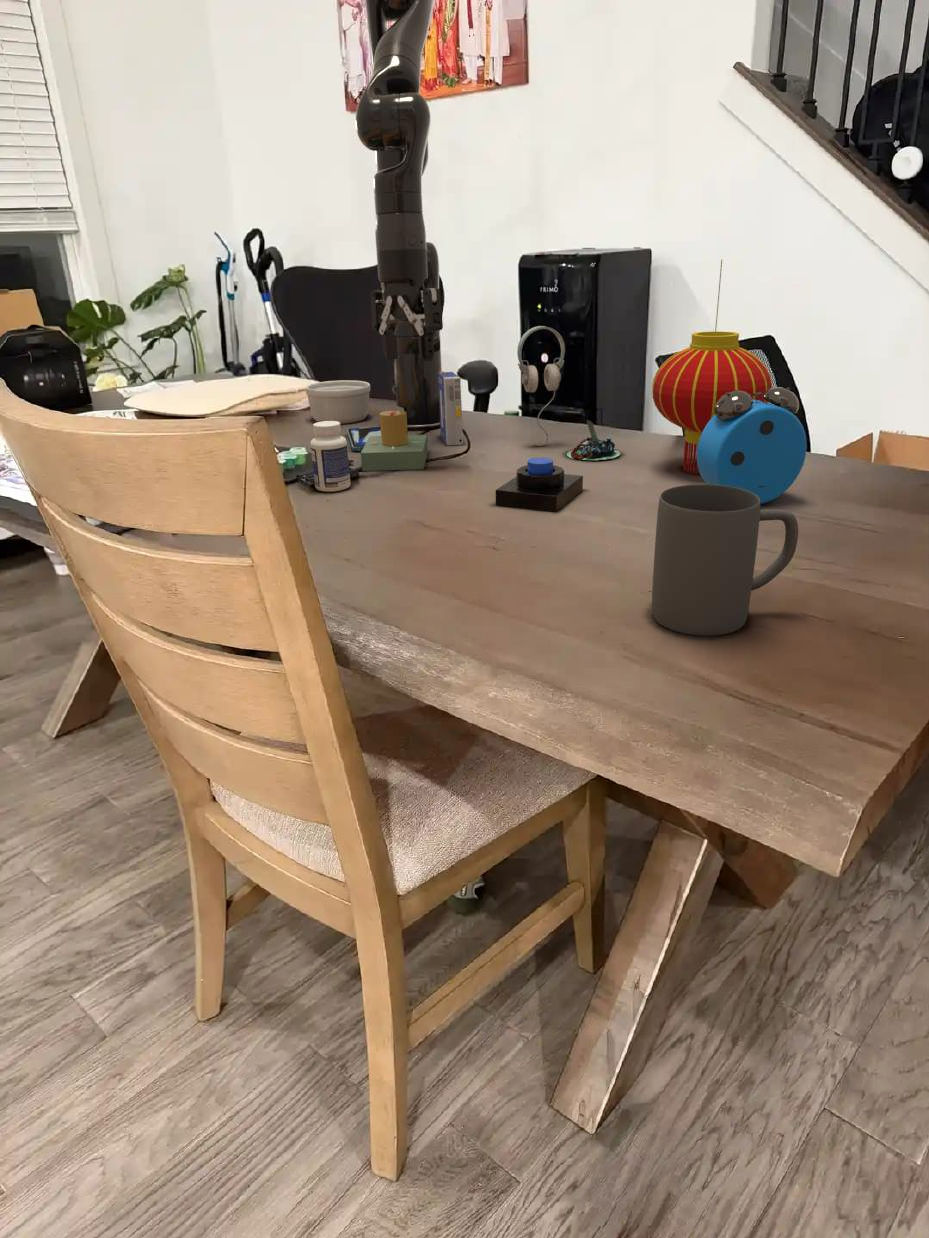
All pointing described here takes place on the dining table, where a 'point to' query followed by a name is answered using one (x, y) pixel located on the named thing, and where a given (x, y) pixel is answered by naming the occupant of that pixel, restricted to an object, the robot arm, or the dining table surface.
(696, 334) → the lantern
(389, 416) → the dimmer knob
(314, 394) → the ramekin
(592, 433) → the dish
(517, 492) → the lamp switch
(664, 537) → the mug
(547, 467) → the button
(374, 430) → the smartphone
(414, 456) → the block
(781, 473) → the alarm clock
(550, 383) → the headphones
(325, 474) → the pill bottle
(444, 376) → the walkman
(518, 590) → the dining table surface
